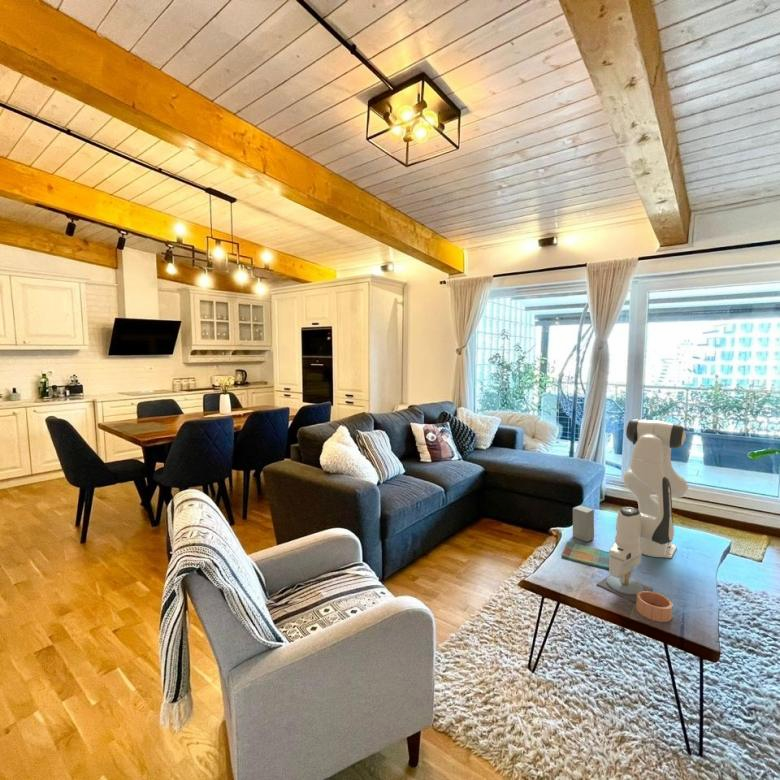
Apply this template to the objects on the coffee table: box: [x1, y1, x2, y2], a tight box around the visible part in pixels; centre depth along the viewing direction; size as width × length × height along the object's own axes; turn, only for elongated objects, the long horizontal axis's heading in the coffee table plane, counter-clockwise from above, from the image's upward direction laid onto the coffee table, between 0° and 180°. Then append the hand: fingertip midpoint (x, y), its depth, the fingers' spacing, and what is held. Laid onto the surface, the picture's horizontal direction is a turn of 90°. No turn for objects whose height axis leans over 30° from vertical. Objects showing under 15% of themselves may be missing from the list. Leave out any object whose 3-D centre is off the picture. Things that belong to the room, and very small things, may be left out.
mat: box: [596, 574, 653, 604], centre depth 170 cm, size 15×15×1 cm
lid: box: [607, 573, 643, 595], centre depth 169 cm, size 13×13×5 cm
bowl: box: [635, 590, 674, 623], centre depth 154 cm, size 11×11×5 cm
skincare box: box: [572, 505, 595, 543], centre depth 213 cm, size 8×7×16 cm
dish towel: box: [561, 541, 611, 571], centre depth 194 cm, size 17×23×2 cm
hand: (624, 580), depth 169 cm, fingers closed on lid, 3 cm apart
